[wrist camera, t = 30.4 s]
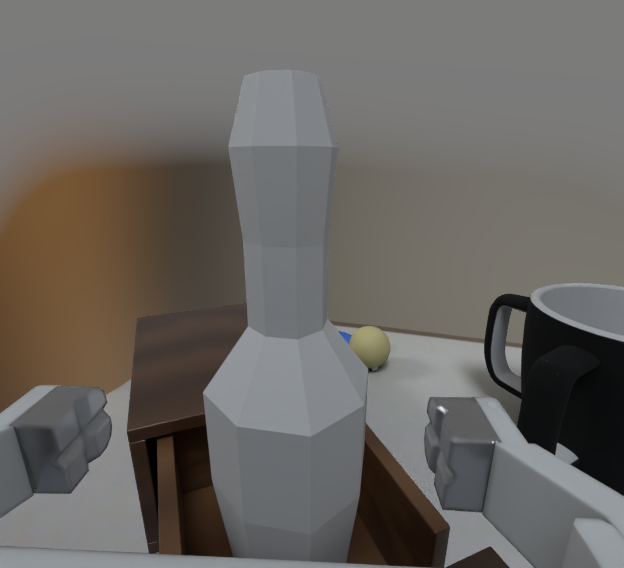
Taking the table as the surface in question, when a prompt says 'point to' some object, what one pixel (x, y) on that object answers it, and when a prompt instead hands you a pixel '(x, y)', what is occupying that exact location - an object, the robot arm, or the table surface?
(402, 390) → the table surface
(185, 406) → the cabinet
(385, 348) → the toy figure
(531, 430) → the mug
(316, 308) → the faceted bottle
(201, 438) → the drawer
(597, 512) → the robot arm
